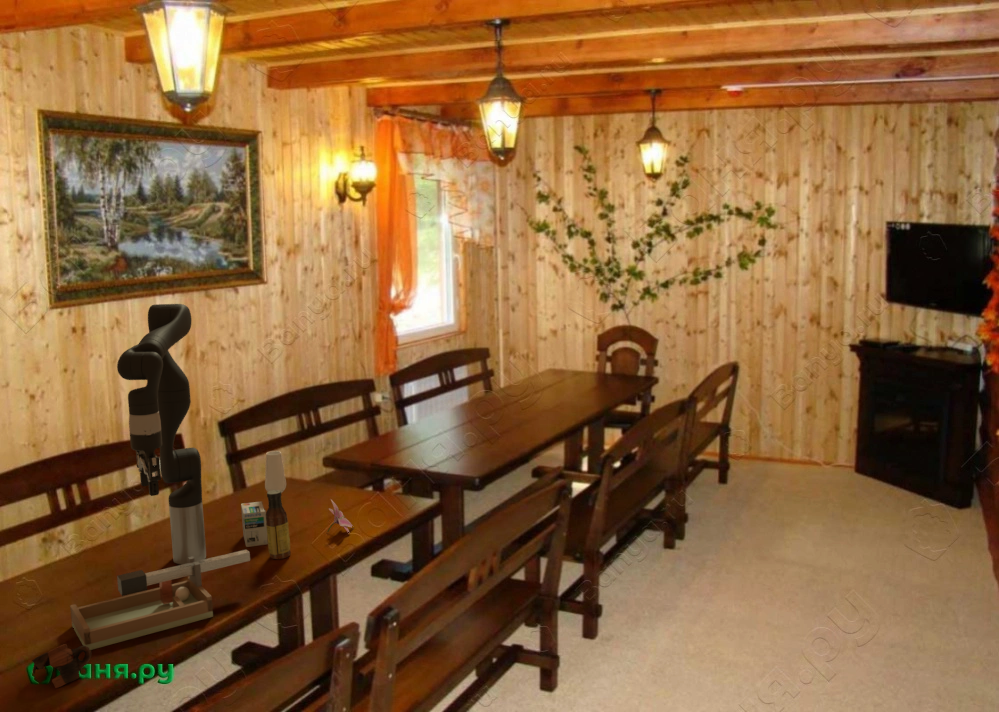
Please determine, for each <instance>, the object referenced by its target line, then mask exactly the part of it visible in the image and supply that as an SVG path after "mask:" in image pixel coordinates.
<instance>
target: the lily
mask: <svg viewBox="0 0 999 712" xmlns="http://www.w3.org/2000/svg"><path fill="white" fill-rule="evenodd" d="M330 501H331V504H332V506H333V509H332V508H328V510H329V511H330V512H331V514H333V515H334V518H333V522H332V524H331V525H330V526H329V528H328V530H327V531H326V533H327V532H328V533H329V532H330V530H331V528H332V527H333V526H334V525H335V524H337V525H339V526H340V527H343V528H344V529H345V530H346V532H347V533H348V532H349V533H350V530H349V528H352V526H353V524H352V522H350V520H348V519H347V518H346V517H347V516H346V515H344V514H343V512H342V510H339V507H338V505H337V504H336V503H335V502H334V501H333V499H330ZM348 527H349V528H348Z"/></svg>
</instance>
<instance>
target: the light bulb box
mask: <svg viewBox="0 0 999 712" xmlns="http://www.w3.org/2000/svg"><path fill="white" fill-rule="evenodd" d="M240 507H241V508H240V509H241V521H242V524H241V525H242V532H243V533H242V534H243V539H244V544H245V547H246V548H249V547H257V546H264V545H265V546H266V545H268V537H267V527H266V512H267V510H266V509H265V507H264V504H263V501H255V502H254V501H253V502H244V503H241V504H240Z"/></svg>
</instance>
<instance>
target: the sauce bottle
mask: <svg viewBox="0 0 999 712" xmlns="http://www.w3.org/2000/svg"><path fill="white" fill-rule="evenodd" d="M266 492H267V493H266V497H267V501H268V504H267V505H268V508H267V509H266V527H267V541H268V544H267V546H268V547H267V548H268V553H269V556H270V558H271V559H272V560H273V559H274V560H283V559H286V558H288V557H289V556H290V555H291V539H290V530H289V520H288V514H287V512H286V510H285V509H284V506H283V504H282V493H281V491H280V490H272V491H269V492H268V491H266Z"/></svg>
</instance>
